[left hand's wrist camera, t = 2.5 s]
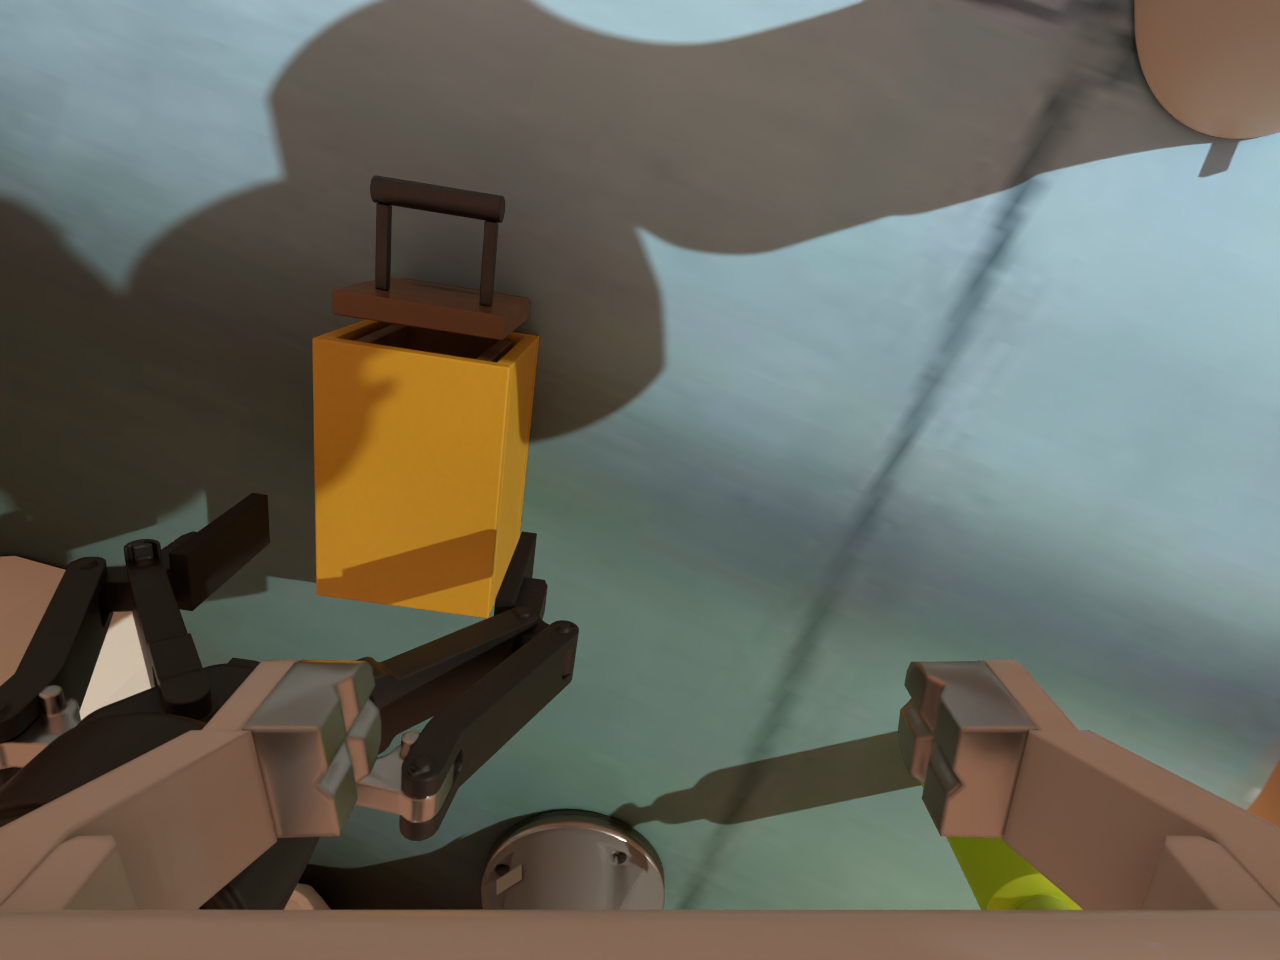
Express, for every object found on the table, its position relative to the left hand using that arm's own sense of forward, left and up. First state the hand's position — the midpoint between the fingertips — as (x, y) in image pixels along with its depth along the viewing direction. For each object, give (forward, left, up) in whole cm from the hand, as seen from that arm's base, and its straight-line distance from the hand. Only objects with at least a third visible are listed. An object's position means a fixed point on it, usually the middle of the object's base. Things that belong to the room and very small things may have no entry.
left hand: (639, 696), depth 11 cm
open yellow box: (+10, -10, -35) cm, 38 cm away
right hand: (+12, -9, -23) cm, 28 cm away
